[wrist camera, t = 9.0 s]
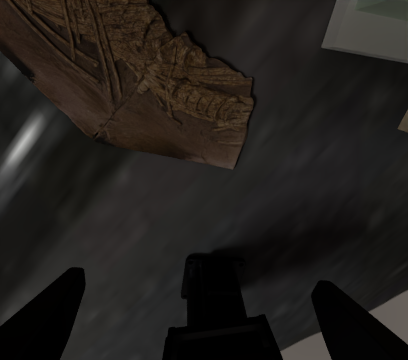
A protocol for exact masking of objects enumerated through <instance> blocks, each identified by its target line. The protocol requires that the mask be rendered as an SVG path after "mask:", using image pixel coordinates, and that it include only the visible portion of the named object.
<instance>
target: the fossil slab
mask: <svg viewBox="0 0 408 360" xmlns="http://www.w3.org/2000/svg"><path fill="white" fill-rule="evenodd" d="M0 51H1V52H2V53H3V54H4V55H5V56H6V57H7V58H8V59H9V60H10V61H11V62H12V63H13V64H14V65H15V66H16V67H17V68H18V69H19V70H20V71H21V72H22V74H23V75H25V76H26V77H27V78H28V79H29V80H30V81H31V82H32V83H33V84H34V85H35V86H36V87H37V88H38V89H39V90H40V91H41V92H42V93H43V94H45V95H46V96H47V97H48V98H49V99H50V100H51V101H52V102H53V103H54V104H55V105H56V106H57V107H58V108H59V109H60V110H61V111H63V112H65V114H66V115H68V116H69V118H71V119H72V120H71V121H72V122H73V123H75V124H76V125H77V126H78V127H79V128H80V129H81V130H82V131H83V132H84V133H85V134H86V135H88V136H89V137H91V138H92V136H94V135H95V134H96V133H97V132H99V133H98V135H97V136H95V137H96V138H93V139H94V141H96V142H98V143H102V144H107V145H112V146H115V147H120V148H127V149H132V150H136V151H142V152H149V153H153V154H158V155H163V156H168V157H173V158H178V159H184V160H188V161H194V162H198V163H201V162H202V163H204V164H211V165H213V166H218V167H224V168H229V169H234V167H235V164H236V161H237V158H238V156H239V153H240V151H241V148H242V146H243V144H244V143H245V141H246V138H247V121H248V119H249V115H250V113H251V111H252V109H253V99H252V98H251V97H250V92H251V86H252V77H249V78H245V77H244V76H243V75H242V74H241V72H236V71H235V70H232V69H230V68H229V66H228V65H227V64H225V63H224V62H222V61H221V60H217V59H215V58H208V57H207V56H206V54H205V53H203V52H202V49H201V48H200V47H198V46H197V45H196V44H195V43H194V42H193V41H192V40H191V38H190V37H189V35H188V34H187V33H186V32H185V31H184V32H183V33H181V34H180V35H178V36H176V37H173V36H172V34H171V33H170V31H169V29H168V28H167V27H166V25H165V22H164V21H163V19H162V17H161V15H160V14H159V13H158V12H157V11H156V10H155V9H154V7H153V6H152V5H150V4H149V0H0Z"/></svg>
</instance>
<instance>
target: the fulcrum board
mask: <svg viewBox="0 0 408 360" xmlns="http://www.w3.org/2000/svg"><path fill="white" fill-rule="evenodd" d="M321 48H326V49H331V50H337V51H342V52H348V53H353V54H359V55H364V56H370V57H375V58H381V59H386V60H392V61H397V62H403V63H408V0H336V4H335V7H334V10H333V13H332V16H331V19H330V22H329V25H328V28H327V31H326V34H325V37H324V40H323V43H322V46H321Z"/></svg>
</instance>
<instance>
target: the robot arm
mask: <svg viewBox="0 0 408 360" xmlns="http://www.w3.org/2000/svg"><path fill="white" fill-rule="evenodd" d="M240 263H241V264H240ZM245 266H246V263H245V260H244V259H239V258H218V257H197V256H189V257H187V258H186V263H185V269H184V276H183V283H182V290H181V298H182V299H187V326H185V327H178V328H175V327H170V328H169V329H168V336H167V337H166V340H165V346H164V352H163V358H162V360H283V358H282V355H281V353H280V350H279V348H278V345H277V343H276V341H275V338H274V336H273V333H272V331H271V328H270V326H269V323H268V321H267V319H266V316H265V314H262V315H259V316H256V317H249V318H247V315H246V310H245V306H244V302H243V298H242V294H241V290H240V282H241V278H242V275H243V272H244V269H245ZM85 285H86V283H85V273H84V269H83V268H77V267H72V268H69V269H68V270H67V271H66V272H64V273H63V274H62V275H61V276H60V277H59V278H57V279H56V280H55V281H54V282H53V283H51V284H50V285H49V286H48V287H47V288H45V289H44V290H43V291H42V292H41V293H39V294H38V295H37V296H36V297H35V298H34V299H32V300H31V301H30V302H29V303H28V304H26V305H25V306H24V307H23V308H22V309H20V310H19V311H18V312H17V313H16V314H14V315H13V316H12V317H11V318H10V319H9V320H7V321H6V322H5V323H4V324H3V325H1V326H0V360H60V358H61V356H62V353H63V351H64V349H65V346H66V344H67V342H68V339H69V337H70V334H71V331H72V328H73V325H74V321H75V318H76V315H77V312H78V309H79V306H80V303H81V300H82V297H83V294H84V290H85ZM311 298H312V302H313V306H314V309H315V312H316V315H317V319H318V322H319V325H320V328H321V332H322V335H323V338H324V341H325V343H326V346H327V349H328V351H329V354H330V356H331V359H332V360H408V345H407V344H406V343H405V342H404V341H403V340H402V339H400V338H399V337H398V336H397V335H395V334H394V333H393V332H392V331H391V330H389V329H388V328H387V327H386V326H384V325H383V324H382V323H381V322H379V321H378V320H377V319H376V318H374V317H373V316H372V315H371V314H370V313H369V312H367V311H366V310H365V309H364V308H362V307H361V306H360V305H359V304H358V303H356V302H355V301H354V300H353V299H352V298H350V297H349V296H348V295H347V294H345V293H344V292H343V291H342V290H341V289H339V288H338V287H337V286H336V285H334V284H333V283H332V282H330V281H325V280H320V281H318V283H317V285H316V286H315V288H314V290H313V292H312V294H311Z"/></svg>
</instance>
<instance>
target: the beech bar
mask: <svg viewBox="0 0 408 360" xmlns="http://www.w3.org/2000/svg"><path fill="white" fill-rule="evenodd" d="M398 129H399V130H402V131H405V132H408V110H407V112H406V114H405V116H404V118H403V119H402V121H401V123H400V125H399V127H398Z"/></svg>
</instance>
